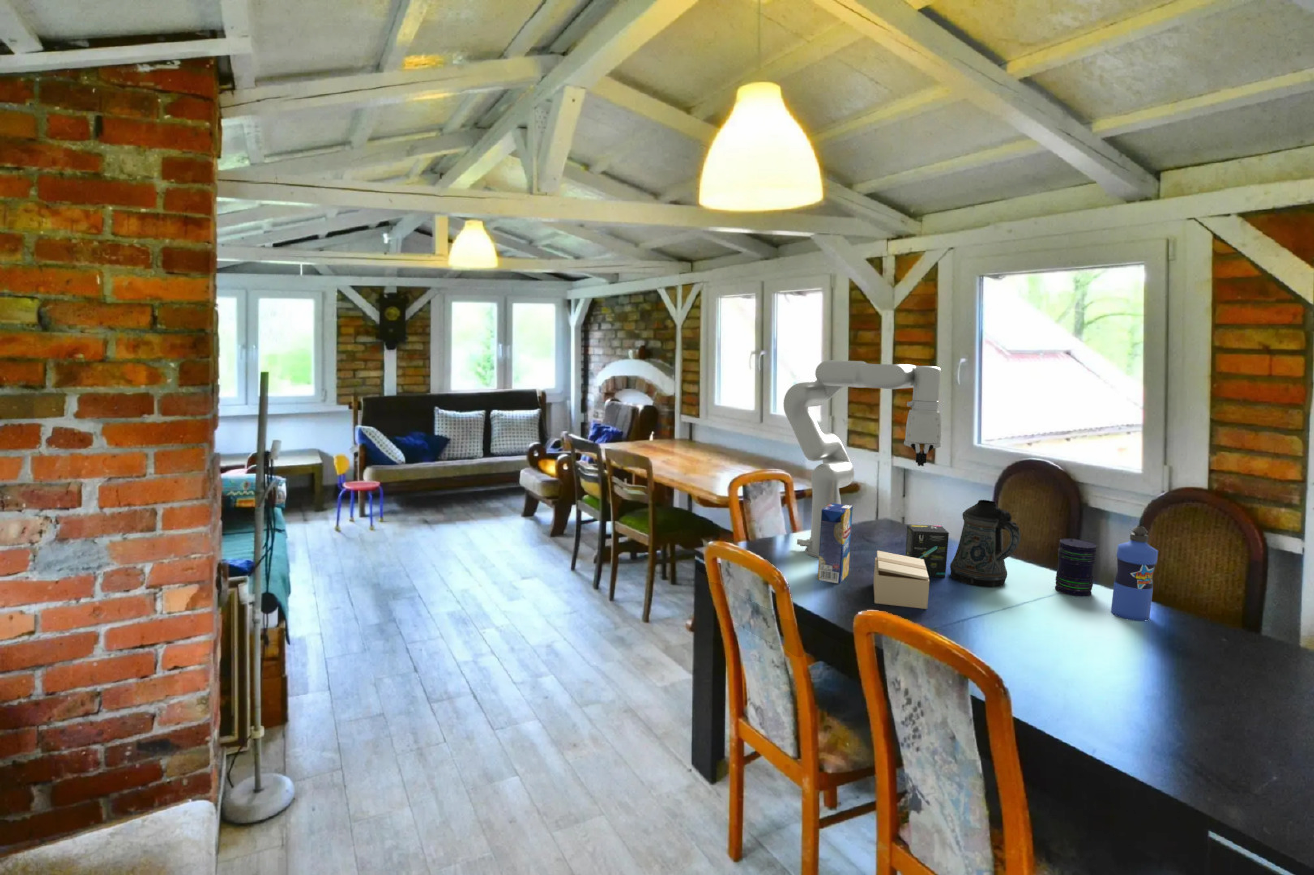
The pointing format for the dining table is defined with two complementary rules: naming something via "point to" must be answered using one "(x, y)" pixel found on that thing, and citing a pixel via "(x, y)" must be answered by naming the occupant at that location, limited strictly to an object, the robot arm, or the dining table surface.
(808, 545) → the robot arm
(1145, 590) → the water bottle
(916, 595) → the carton
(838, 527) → the beverage box
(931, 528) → the tampon box
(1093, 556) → the storage jar
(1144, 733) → the dining table surface
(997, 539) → the beer stein
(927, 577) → the lid
